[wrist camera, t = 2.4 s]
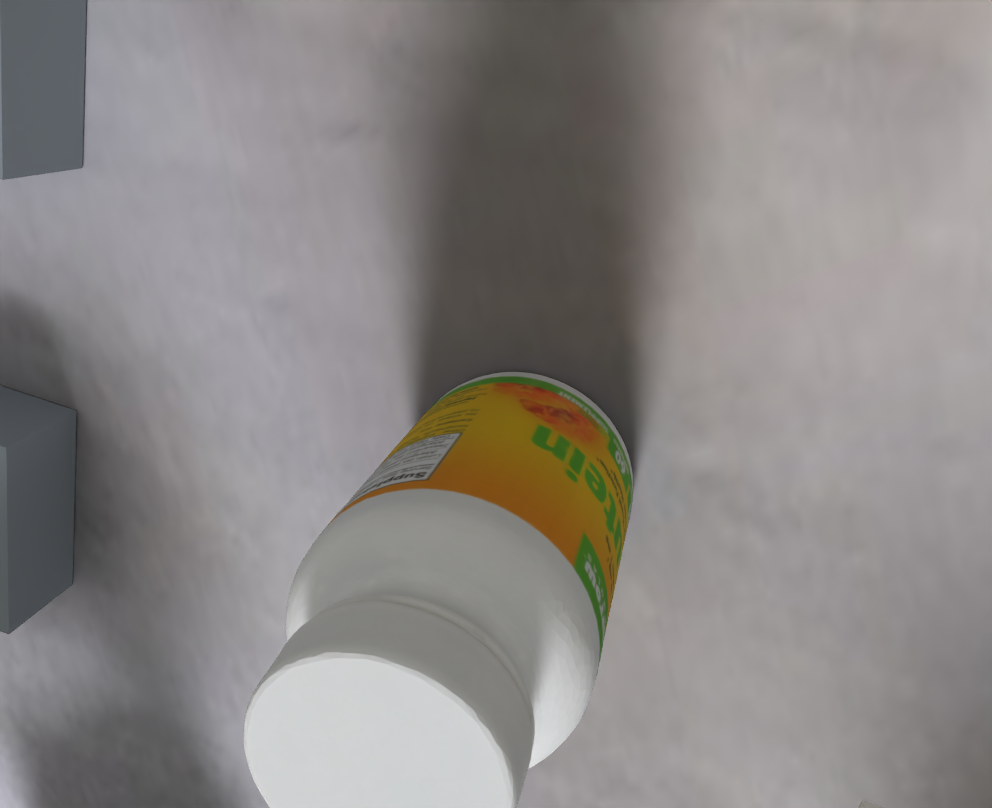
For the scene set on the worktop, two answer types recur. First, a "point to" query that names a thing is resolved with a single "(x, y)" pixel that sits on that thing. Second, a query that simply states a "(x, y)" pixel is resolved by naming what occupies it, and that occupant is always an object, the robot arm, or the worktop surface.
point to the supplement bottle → (450, 608)
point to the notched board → (5, 412)
